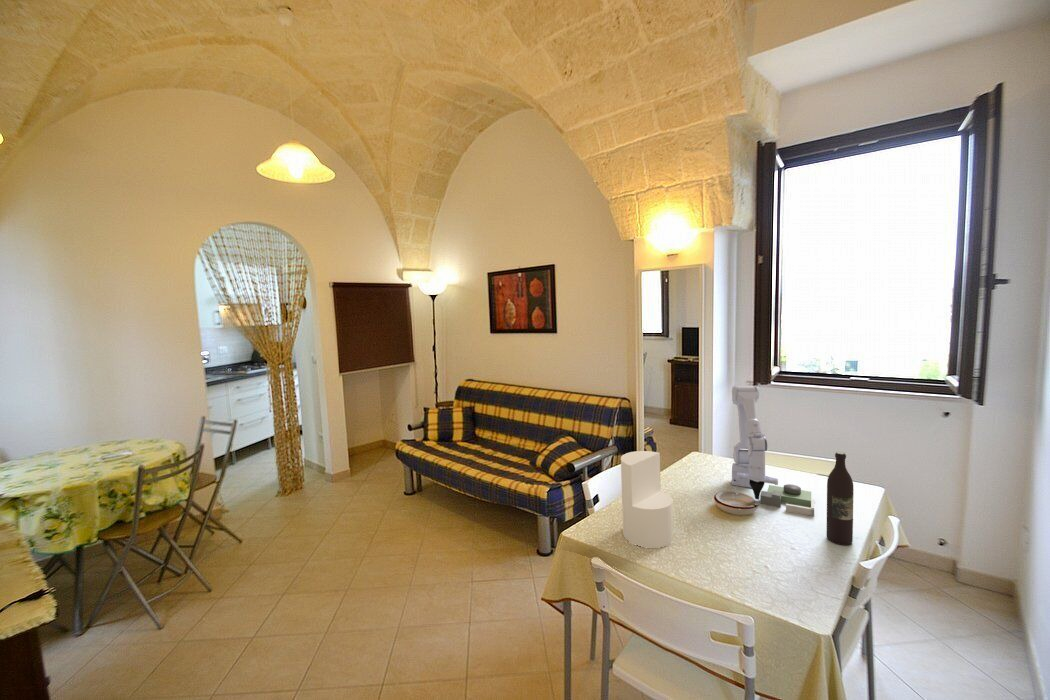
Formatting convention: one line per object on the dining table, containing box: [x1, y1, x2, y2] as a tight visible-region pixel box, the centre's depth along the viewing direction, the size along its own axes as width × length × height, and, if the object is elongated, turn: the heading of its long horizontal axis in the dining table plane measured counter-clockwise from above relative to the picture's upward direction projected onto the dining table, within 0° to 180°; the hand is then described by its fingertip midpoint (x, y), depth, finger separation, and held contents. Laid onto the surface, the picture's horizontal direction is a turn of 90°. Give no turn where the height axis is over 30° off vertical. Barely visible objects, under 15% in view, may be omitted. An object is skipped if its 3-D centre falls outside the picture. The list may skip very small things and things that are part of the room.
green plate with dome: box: [767, 483, 815, 517], centre depth 171 cm, size 16×17×4 cm
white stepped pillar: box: [620, 450, 675, 549], centre depth 151 cm, size 17×17×28 cm
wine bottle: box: [826, 451, 854, 546], centre depth 142 cm, size 7×7×30 cm
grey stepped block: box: [759, 490, 782, 509], centre depth 172 cm, size 7×5×5 cm
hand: (757, 498), depth 174 cm, fingers closed
